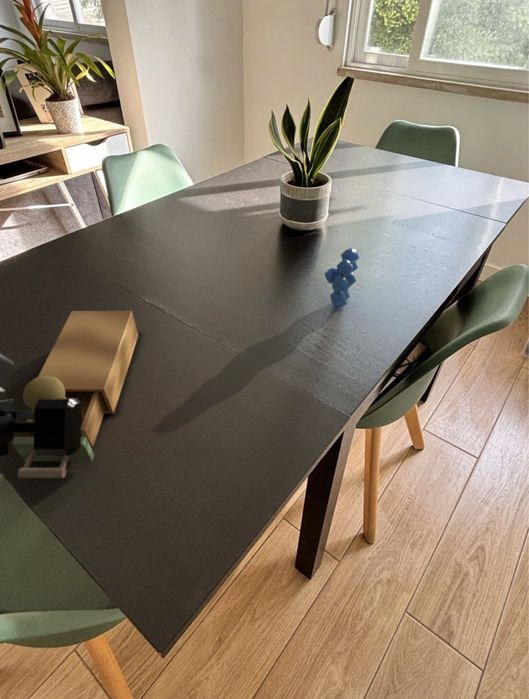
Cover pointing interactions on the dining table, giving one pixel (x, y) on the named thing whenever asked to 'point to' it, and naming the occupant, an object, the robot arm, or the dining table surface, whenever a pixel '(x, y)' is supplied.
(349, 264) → the grapes
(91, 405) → the drawer
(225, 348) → the dining table surface
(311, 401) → the dining table surface
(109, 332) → the cabinet
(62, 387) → the olive rounded upright piece
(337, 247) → the dining table surface
